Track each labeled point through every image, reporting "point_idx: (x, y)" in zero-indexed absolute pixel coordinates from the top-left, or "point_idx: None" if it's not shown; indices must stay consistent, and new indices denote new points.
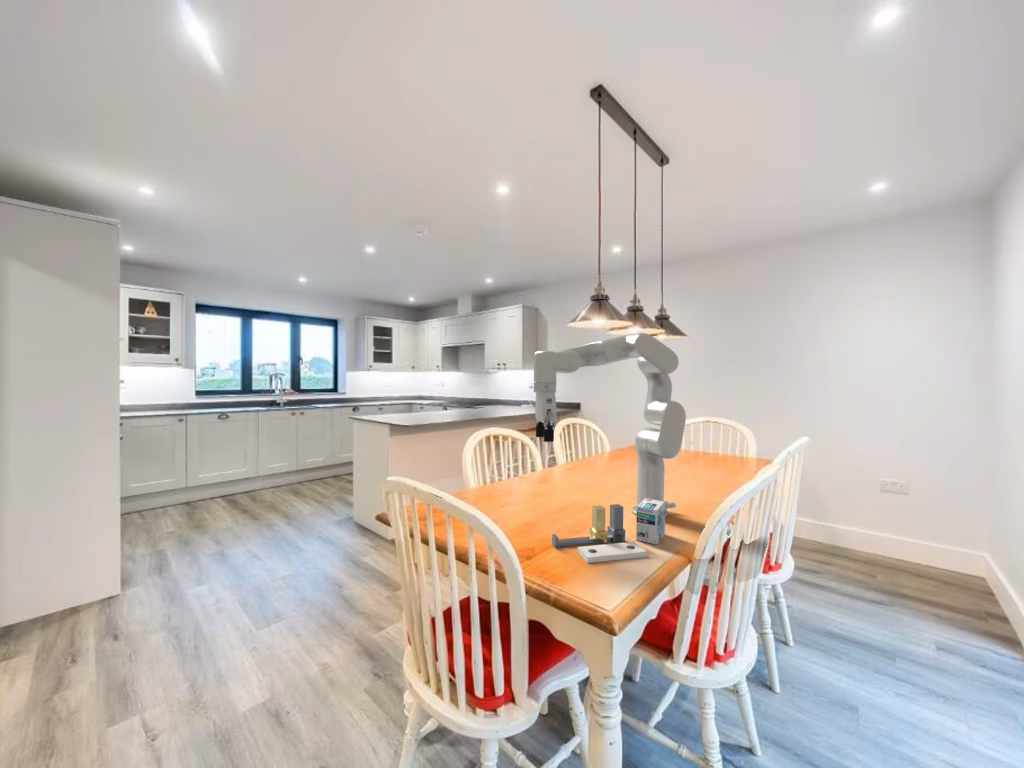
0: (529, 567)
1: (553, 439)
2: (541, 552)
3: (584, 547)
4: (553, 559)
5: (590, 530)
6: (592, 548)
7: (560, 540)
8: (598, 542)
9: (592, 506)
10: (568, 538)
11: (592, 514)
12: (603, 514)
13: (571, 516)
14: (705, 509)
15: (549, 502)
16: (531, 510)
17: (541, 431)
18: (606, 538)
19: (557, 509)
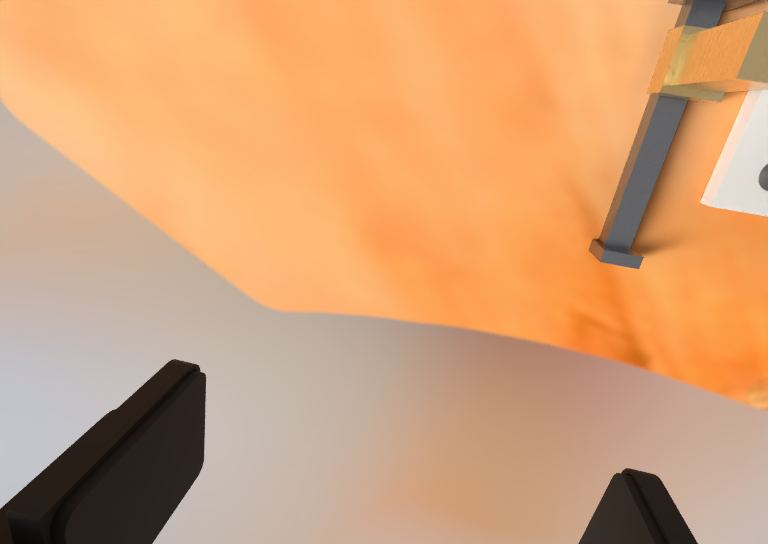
0: (692, 384)
1: (666, 496)
2: (625, 310)
3: (729, 184)
4: (692, 302)
5: (664, 94)
6: (758, 161)
7: (621, 233)
8: None
9: (738, 78)
10: (623, 196)
11: (712, 81)
12: None
13: (367, 18)
14: None
15: (160, 24)
16: (246, 159)
17: (155, 476)
18: None
19: (262, 36)
